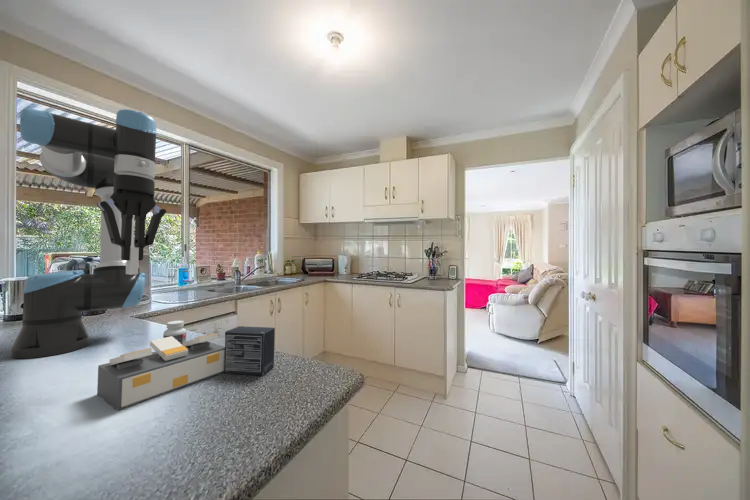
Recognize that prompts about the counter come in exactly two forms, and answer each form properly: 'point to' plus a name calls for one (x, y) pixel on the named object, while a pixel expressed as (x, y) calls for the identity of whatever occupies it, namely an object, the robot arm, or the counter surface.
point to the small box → (249, 350)
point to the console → (157, 374)
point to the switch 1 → (131, 356)
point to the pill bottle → (176, 331)
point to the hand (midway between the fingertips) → (131, 274)
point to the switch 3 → (200, 339)
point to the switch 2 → (168, 348)
